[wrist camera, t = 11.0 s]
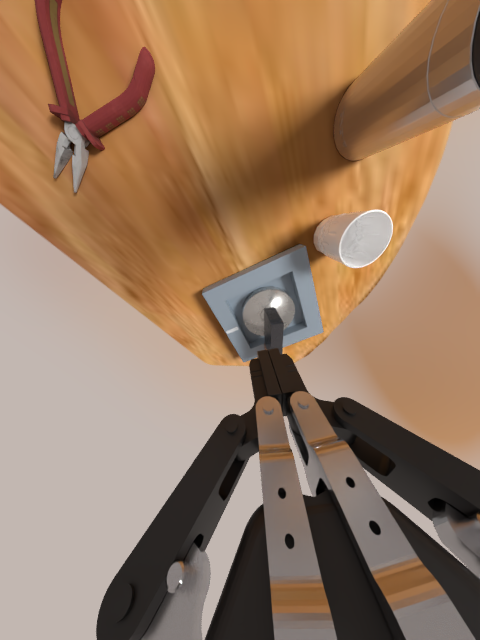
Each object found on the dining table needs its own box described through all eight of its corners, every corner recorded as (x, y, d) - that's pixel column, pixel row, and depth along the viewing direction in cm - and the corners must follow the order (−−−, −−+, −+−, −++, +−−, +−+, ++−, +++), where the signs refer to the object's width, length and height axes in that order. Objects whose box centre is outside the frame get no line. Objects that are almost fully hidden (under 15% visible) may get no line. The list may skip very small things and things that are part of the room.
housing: (299, 243, 34) (306, 246, 31) (317, 325, 45) (324, 332, 42) (203, 288, 37) (201, 294, 34) (242, 354, 48) (243, 362, 45)
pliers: (26, 156, 25) (7, 150, 23) (57, -45, 18) (33, -83, 16) (109, 213, 29) (100, 212, 27) (161, 70, 22) (154, 53, 20)
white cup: (357, 224, 33) (404, 227, 25) (330, 262, 37) (363, 276, 28) (328, 203, 31) (368, 197, 22) (302, 245, 34) (328, 254, 26)
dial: (239, 289, 37) (244, 308, 29) (293, 283, 38) (312, 301, 30) (245, 345, 46) (249, 372, 38) (288, 340, 46) (302, 366, 38)
